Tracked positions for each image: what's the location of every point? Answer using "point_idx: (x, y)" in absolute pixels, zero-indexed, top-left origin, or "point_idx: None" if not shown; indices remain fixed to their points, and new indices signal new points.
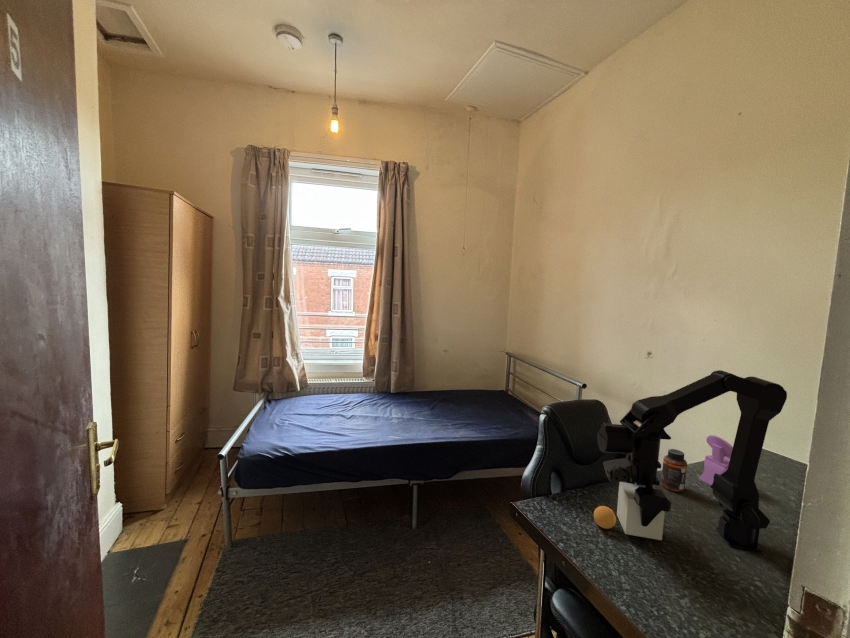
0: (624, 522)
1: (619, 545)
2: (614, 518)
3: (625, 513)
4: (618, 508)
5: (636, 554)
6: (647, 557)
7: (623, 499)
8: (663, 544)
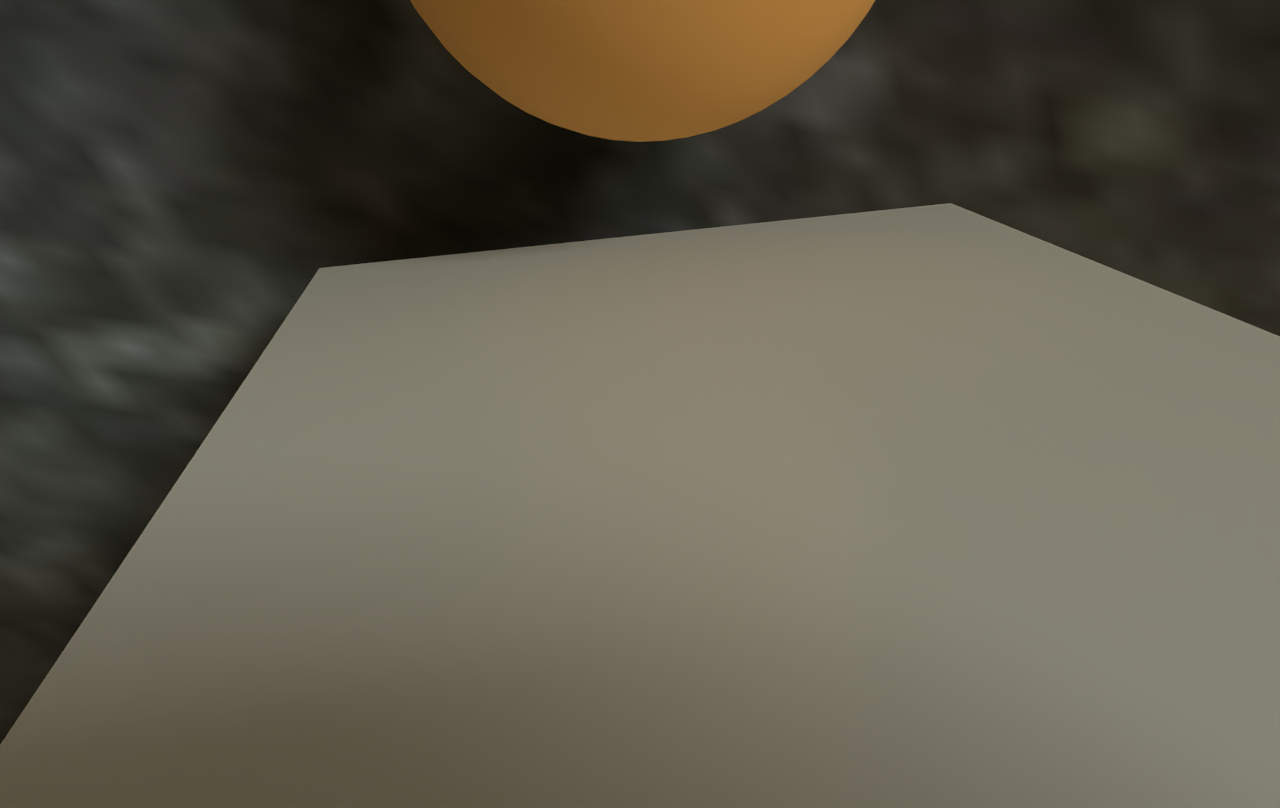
0: (423, 311)
1: (108, 114)
2: (509, 86)
3: (375, 422)
4: (965, 256)
5: (20, 364)
6: (54, 504)
7: (793, 548)
8: None
